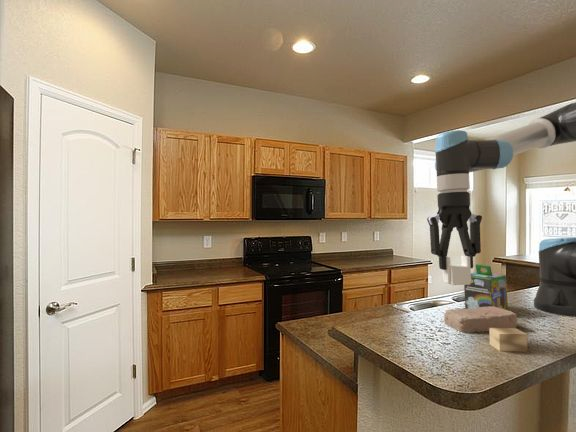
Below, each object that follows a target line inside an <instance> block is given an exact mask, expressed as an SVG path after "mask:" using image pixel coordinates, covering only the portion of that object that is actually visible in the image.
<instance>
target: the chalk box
mask: <svg viewBox="0 0 576 432" xmlns="http://www.w3.org/2000/svg"><path fill="white" fill-rule="evenodd" d="M475 269H476V270H475V271H476V272H471V282H470V285H463V289H464V309H472V308H474V309H475V308H479V307H489V306H494V307H497V308H500V309H505V310H508V311H509V304H508V303H509V302H508V287H507V286H508V285H507V275H506V274H500V273H493V272H492V268H491V266H490V265H487V264H479V263H478V264H475ZM482 269H485V270H486V271H482Z"/></svg>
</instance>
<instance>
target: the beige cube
mask: <svg viewBox="0 0 576 432" xmlns="http://www.w3.org/2000/svg"><path fill="white" fill-rule="evenodd" d="M450 265H451V267H450V274H451V283H447V284H448V285H451V286H464V285H470V267H469V266H465V265H462V263H456V264H455V263H454V264H453V263H452V264H450Z"/></svg>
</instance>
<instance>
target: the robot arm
mask: <svg viewBox="0 0 576 432" xmlns="http://www.w3.org/2000/svg"><path fill="white" fill-rule="evenodd" d="M572 142H573V143H574V142H576V101H575V102H572V103H569V104H566V105H564V106H562V107H560V108H557V109H556V110H554V111H552V112H549V113H547V114H545V115H543V116H540V117H538V118H535V119H533V120H532V121H530V122H529V123H528V124H527V125H523V126H521V127H518V128H515V129H512V130H509V131H506V132H504V133H501V134H498V135H495V136H492V137H489V138H485V139H477V140H476V139H474V140H473V139H469V137H468V132H467V131H465V130H460V129H458V130H449V131H444V132H442V133H439V134H438V135H437V136H436V137H435V143H434V144H435V145H434V147H435V149H434V153H435V161H434V168H435V171H436V191H437V192H439V193H438V194H437V207H438V211H437V212H436V214H435V215H432V216H428V217H427V218H426V220H427V223H428V225H429V237H430V239H429V240H430V253H431V254H432V255H435V256H437V257H438V267H439V269H440V270H442V282H444V283H446V284H448V283H451V274H450V267H451V265H452V264H451V257H450V256H448V253H449V247H450V242H451V236H452V232H453V231H454V229H455V228H456V231H457V232H458V237H459V239H460V244H461V247H462V251H463V254H464V255H461V257H460V258H461V261H460V262H461V265H465V266H469V267H470V282H471V273H472V272H471V271H472V270H471V269H473V268H474V258H475V257H476V256H477V254H478V255H479V254H481V249H482V248H481V247H482V246H481V244H482V243H481V223H482V219H483V216H482V215H480V214H474V213H472V210H471V209H470V207H471V193H470V192H469V190H470V188H471V186H470V184H471V183H470V173H474V172H477V171H484V170H496V169H504V168H506V167H508V166H509V165H510V164H511V162H512V160H513V157H514V156H516V155H519V154H521V153H524V152H527V151H530V150H532V149H533V150H534V149H546V148H548V147H552V146H556V145H560V144H561V145H562V144H566V143H567V144H569V143H572ZM468 221H469V226H468ZM440 222H441V223H442V224H441V236H440V228H439V227H440V226H439V223H440ZM538 247H539V248H538V260H539V261H538V262H539V266H538V267H539V268H538V269H539V286H538V288H537V292H536V293H535V297H534V299H533V307H534V308H535V309H537V310H540V311H543V312H547V313H551V314H557V315H562V316H569V317H576V237H562V238H561V237H560V238H557V237H556V238H544V239H543V240H541V241H540V242H539V245H538Z"/></svg>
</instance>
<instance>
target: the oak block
mask: <svg viewBox="0 0 576 432" xmlns="http://www.w3.org/2000/svg"><path fill="white" fill-rule="evenodd" d="M488 332H489V345H490V346H492V347H493V348H495V349H496V350H498V351H499V352H528V333H526V332H523V331H522V330H520V329H518V328H517V327H515V328H489V331H488Z"/></svg>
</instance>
